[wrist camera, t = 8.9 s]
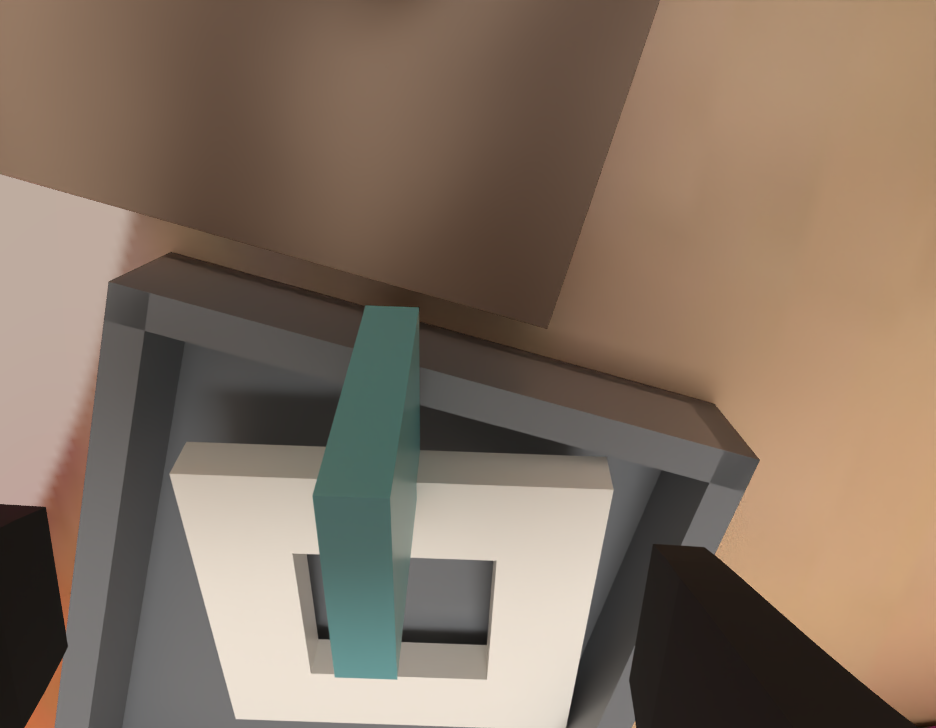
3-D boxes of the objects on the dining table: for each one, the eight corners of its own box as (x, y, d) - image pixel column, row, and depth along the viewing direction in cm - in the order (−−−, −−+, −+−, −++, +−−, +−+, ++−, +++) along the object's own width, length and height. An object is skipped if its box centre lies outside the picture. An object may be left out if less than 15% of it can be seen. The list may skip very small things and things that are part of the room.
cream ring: (562, 696, 20) (582, 904, 16) (246, 685, 20) (184, 891, 16) (632, 315, 13) (700, 509, 9) (151, 297, 13) (1, 484, 9)
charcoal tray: (714, 404, 18) (759, 459, 15) (510, 866, 23) (515, 970, 21) (170, 252, 17) (108, 281, 14) (92, 776, 22) (37, 874, 19)
